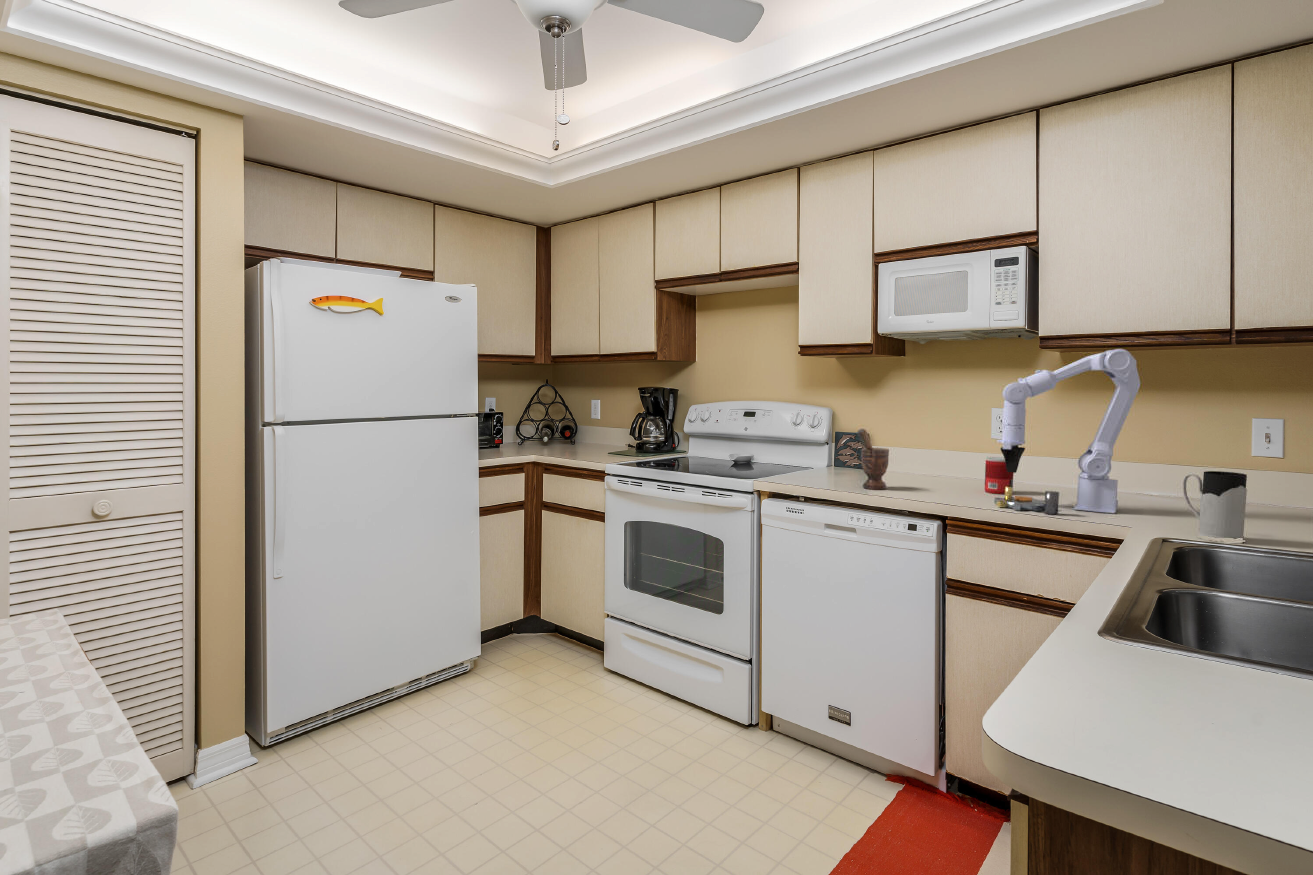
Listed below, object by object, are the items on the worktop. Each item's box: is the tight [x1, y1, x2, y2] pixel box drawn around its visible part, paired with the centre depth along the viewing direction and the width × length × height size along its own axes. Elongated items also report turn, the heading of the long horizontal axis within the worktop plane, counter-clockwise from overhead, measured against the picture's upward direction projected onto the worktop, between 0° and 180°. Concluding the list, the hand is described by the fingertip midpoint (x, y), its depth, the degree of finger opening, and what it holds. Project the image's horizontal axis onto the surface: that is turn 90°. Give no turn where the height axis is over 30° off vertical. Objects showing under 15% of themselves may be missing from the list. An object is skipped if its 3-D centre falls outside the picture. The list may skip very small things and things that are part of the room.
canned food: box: [984, 456, 1014, 496], centre depth 217 cm, size 8×8×11 cm
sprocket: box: [993, 486, 1045, 512], centre depth 193 cm, size 15×15×6 cm
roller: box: [1043, 490, 1060, 516], centre depth 183 cm, size 3×3×6 cm
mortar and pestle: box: [857, 428, 890, 491], centre depth 224 cm, size 12×9×20 cm
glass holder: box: [1182, 470, 1248, 539], centre depth 157 cm, size 9×14×15 cm, turn 9°
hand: (1011, 472), depth 196 cm, fingers closed
